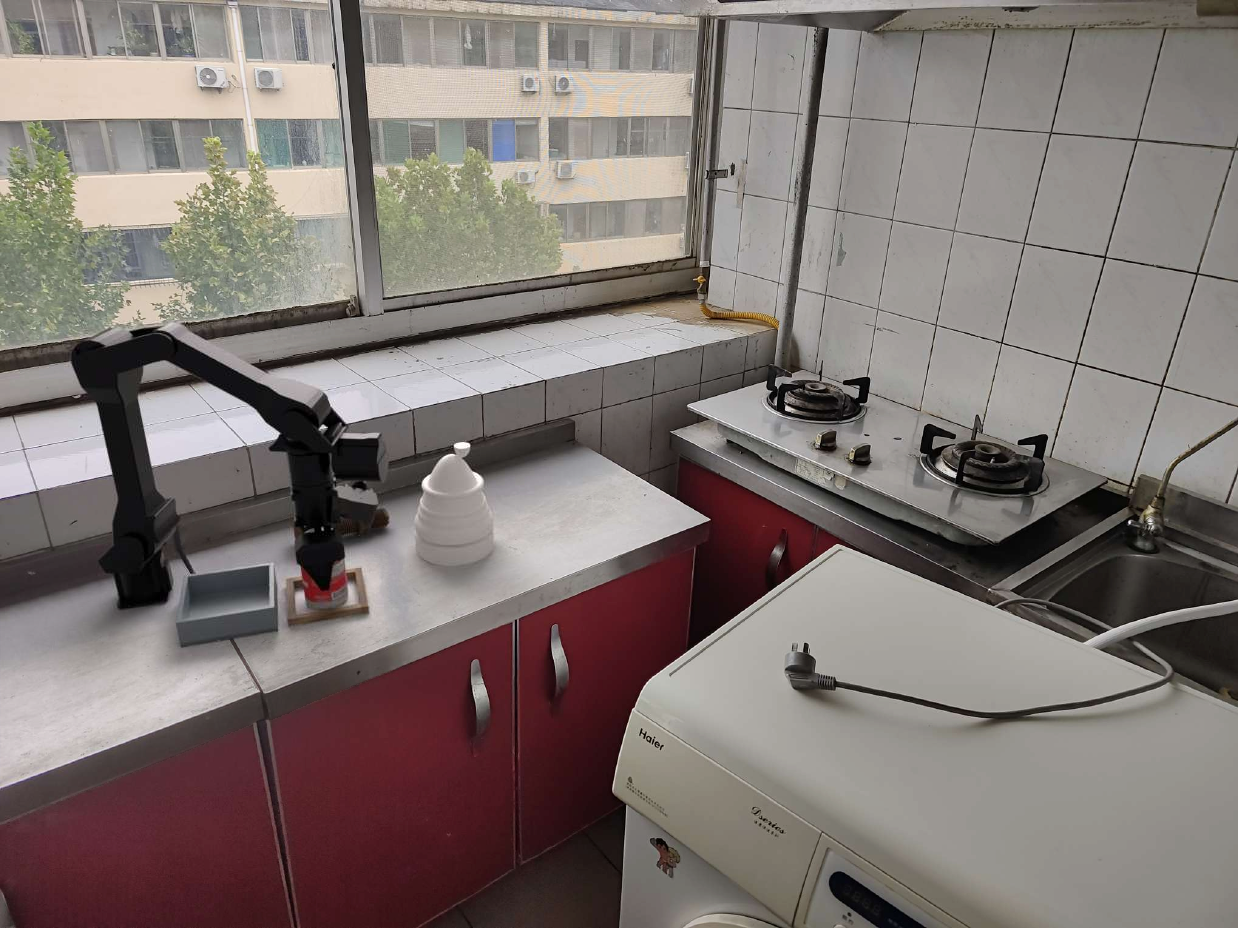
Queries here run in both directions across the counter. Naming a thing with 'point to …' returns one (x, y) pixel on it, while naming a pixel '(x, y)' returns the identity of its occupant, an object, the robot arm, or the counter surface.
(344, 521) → the bolt
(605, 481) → the counter surface
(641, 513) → the counter surface
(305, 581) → the pill bottle
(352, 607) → the wooden frame
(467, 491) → the honey pot
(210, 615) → the bin
